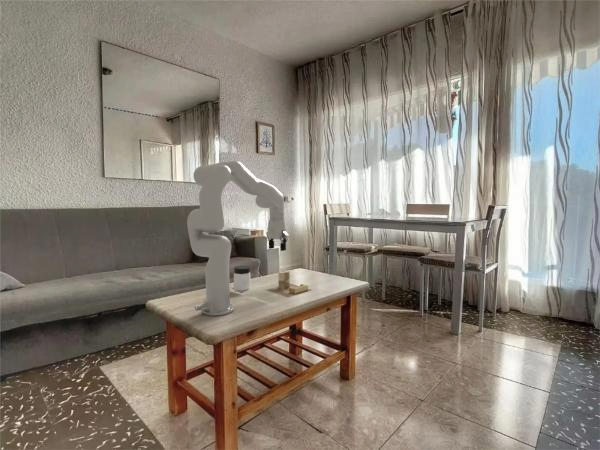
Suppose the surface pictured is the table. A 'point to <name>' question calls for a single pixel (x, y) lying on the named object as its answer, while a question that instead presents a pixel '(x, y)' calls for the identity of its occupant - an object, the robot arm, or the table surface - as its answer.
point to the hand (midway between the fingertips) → (277, 249)
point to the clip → (298, 289)
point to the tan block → (284, 279)
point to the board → (285, 291)
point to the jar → (241, 278)
